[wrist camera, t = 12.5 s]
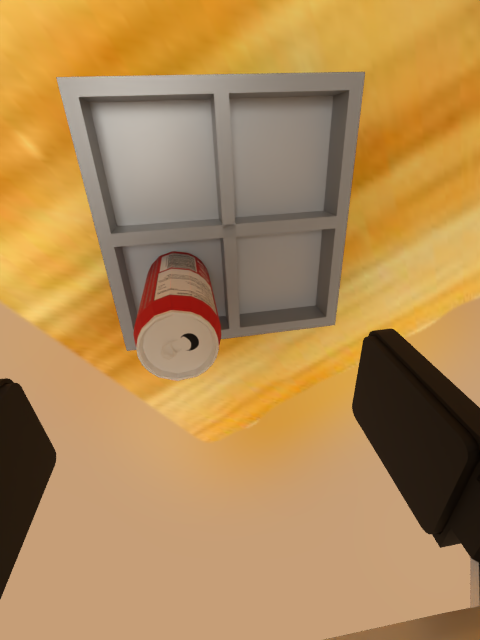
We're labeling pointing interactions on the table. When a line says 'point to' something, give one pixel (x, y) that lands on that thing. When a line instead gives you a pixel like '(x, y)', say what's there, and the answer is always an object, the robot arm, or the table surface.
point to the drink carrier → (222, 186)
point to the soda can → (177, 318)
